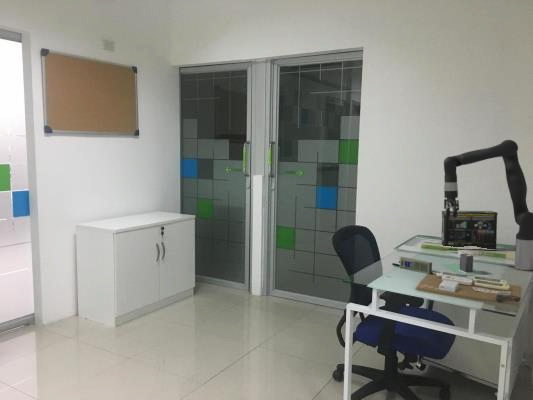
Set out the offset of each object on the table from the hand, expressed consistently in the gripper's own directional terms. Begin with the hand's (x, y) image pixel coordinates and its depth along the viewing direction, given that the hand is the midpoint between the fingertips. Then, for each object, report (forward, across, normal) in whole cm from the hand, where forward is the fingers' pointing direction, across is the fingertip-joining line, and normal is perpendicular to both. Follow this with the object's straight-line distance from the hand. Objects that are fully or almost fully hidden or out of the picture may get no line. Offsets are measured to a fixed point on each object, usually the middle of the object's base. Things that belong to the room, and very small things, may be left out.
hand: (451, 216), depth 274 cm
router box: (+29, +46, -33) cm, 63 cm away
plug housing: (+28, -23, +4) cm, 36 cm away
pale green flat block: (+29, -17, +4) cm, 34 cm away
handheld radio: (+28, -13, +31) cm, 44 cm away
